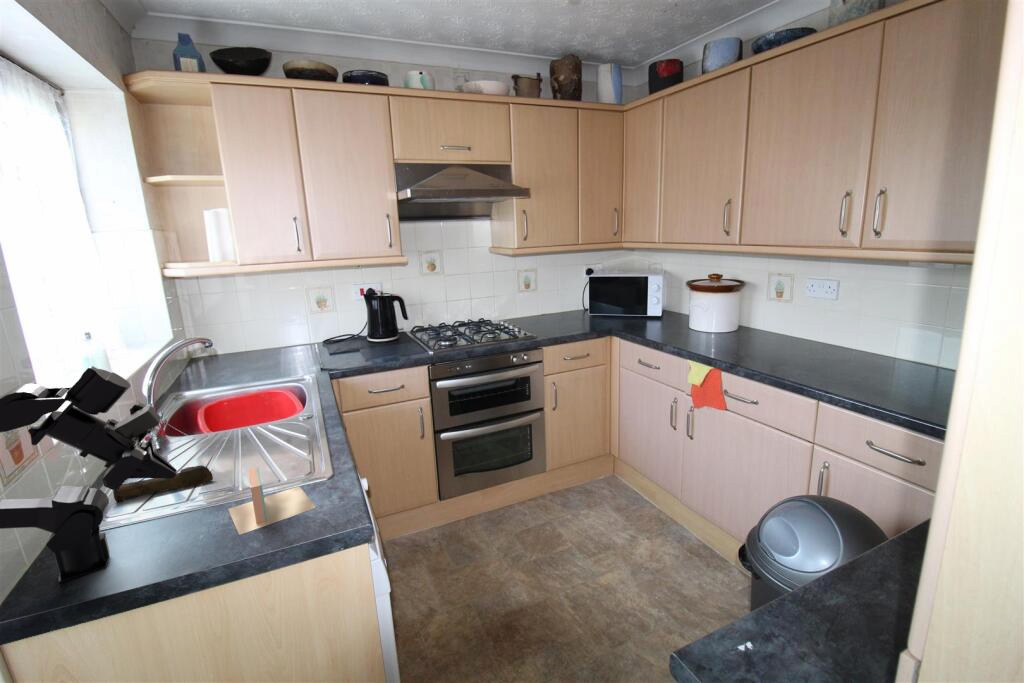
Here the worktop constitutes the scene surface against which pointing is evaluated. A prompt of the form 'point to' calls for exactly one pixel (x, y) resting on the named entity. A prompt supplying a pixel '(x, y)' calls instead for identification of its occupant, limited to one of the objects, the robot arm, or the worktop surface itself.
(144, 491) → the brown wooden rod
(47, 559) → the worktop surface
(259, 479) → the terracotta tile
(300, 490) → the beech board
